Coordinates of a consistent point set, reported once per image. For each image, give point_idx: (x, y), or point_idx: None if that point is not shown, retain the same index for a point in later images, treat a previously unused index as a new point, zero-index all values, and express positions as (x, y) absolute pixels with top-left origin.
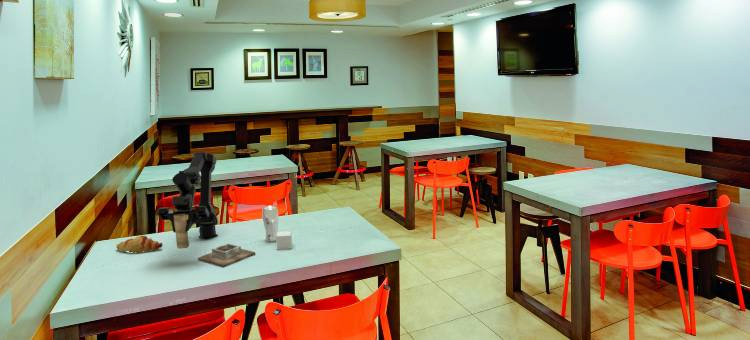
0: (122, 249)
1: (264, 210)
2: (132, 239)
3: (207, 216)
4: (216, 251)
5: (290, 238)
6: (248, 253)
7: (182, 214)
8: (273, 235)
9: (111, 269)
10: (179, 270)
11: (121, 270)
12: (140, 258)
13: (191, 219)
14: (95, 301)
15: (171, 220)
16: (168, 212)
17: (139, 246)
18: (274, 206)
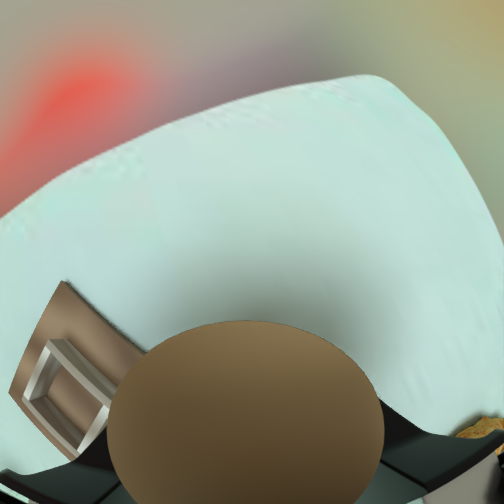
0: (502, 418)
1: None
2: (501, 451)
3: (19, 500)
4: (90, 379)
5: None
6: (19, 386)
7: (200, 502)
8: (10, 494)
9: (473, 284)
10: (229, 265)
11: (447, 275)
12: (444, 389)
13: (91, 444)
14: (360, 87)
15: (393, 417)
16: (495, 482)
17: (473, 435)
18: None
